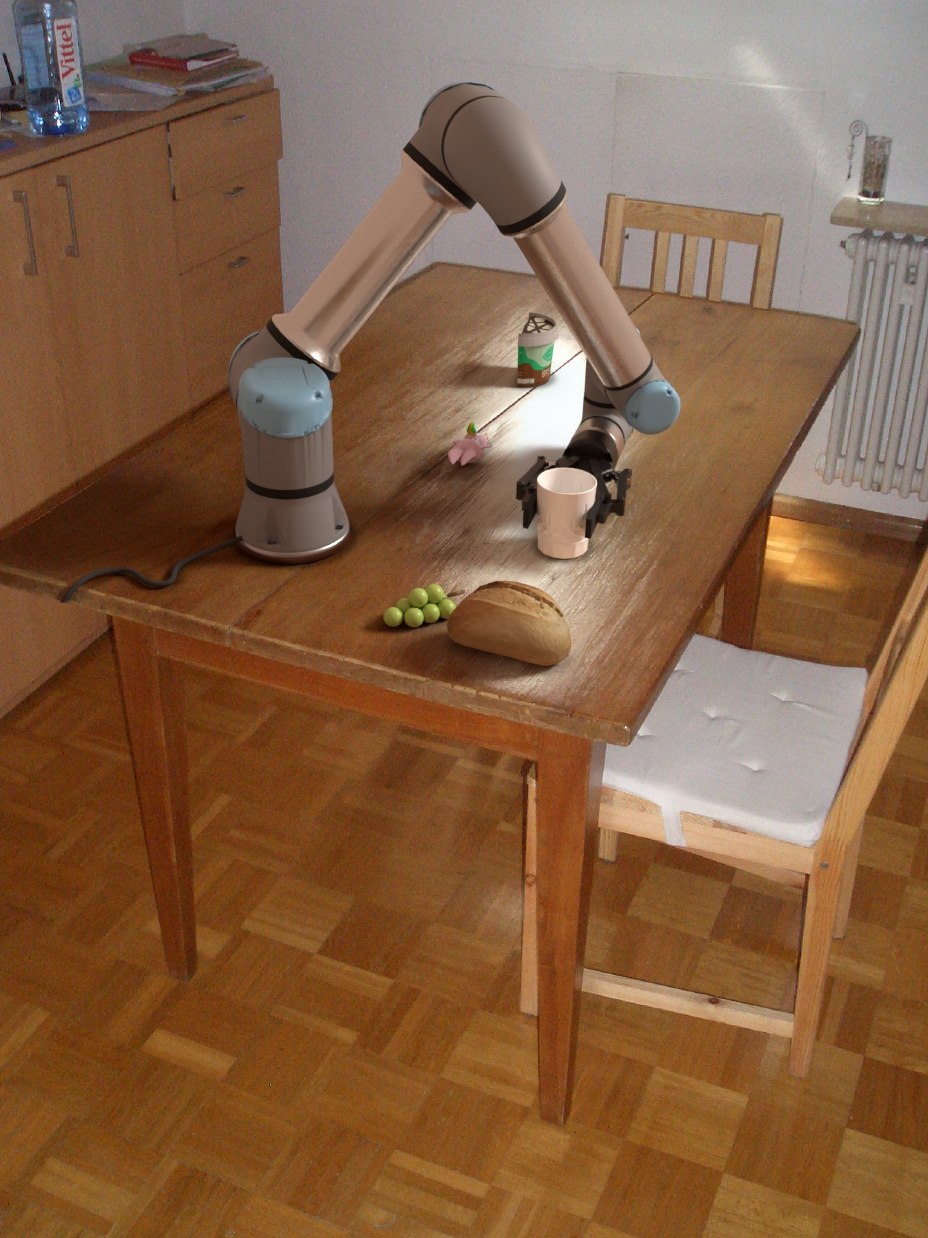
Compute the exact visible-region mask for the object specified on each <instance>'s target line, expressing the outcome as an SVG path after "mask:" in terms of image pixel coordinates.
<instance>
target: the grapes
mask: <svg viewBox="0 0 928 1238" xmlns="http://www.w3.org/2000/svg"><path fill="white" fill-rule="evenodd" d="M464 594H466V590H465V589H459V590H456V591H453V592H448V593H447V594H445V592H444V589H443V588H442V587H441V586H440V585H439V584H437V583H431V584H428V585H427V586H426V587H425V589H424V588H421V587H415V588H413V589H412V590H411V591H410V592H409V593H408V598H407V597H404V598H401V599H399V600H398V601H396V604H395V606H392V607H391V606H390V607H388V608H387V609H385V611H384V613H383V616H382V619H383V621H384V623H385V625H387V626H389V627H390V628H391V627H392V628H395V627H398V626H400V625H401V624H402V622H403V620H404V622H405V624H406V625H407V626H408V627H411V628H417V627H420V626H421V625H422V624H423V622H425V623H427V624H432V623H436V622H437V620H439V618H442V619H445V620H448V619H449V617H450V615H451V613H452V611H453V610H454V609H455V608H456V607H457V606H456V604H455V602H454V601H453V600H451V599H449V598H453V597H457V596H460V595H464Z"/></svg>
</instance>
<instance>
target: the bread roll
mask: <svg viewBox="0 0 928 1238" xmlns="http://www.w3.org/2000/svg"><path fill="white" fill-rule="evenodd" d="M569 627H570V626H569V624H568V621H567V620H566V617H565V615H564V613H563V610H562V609H561V607H560V606H559V604H558V603H557V601H556V600H555V599H554V598H553V596H551V595H550V594H549V593H547V592H546V591H544V590H542V589H540V588H538V587H537V586H533V585H530V584H527V583H523V582H519V581H513V580H495V581H491V582H488V583H485V584H481V585H479V586H478V587H477V588H476V589H475V590H473V592H471V593H469V594H468V595H466V596H465V597H463V599H462V600H461V601H460V602H459V603H458V605H457V606H456V608H455V609H454V610H453V611H452V613H451V615H450V617H449V618H448V619H447V622H446V630H447V634H448V636H449V637H450V639H451V640H453V642H454V643H456V644H459V645H461V646H463V647H467V648H471V649H475V650H479V651H482V652H488V653H491V654H496V655H499V656H504V657H508V658H511V659H515V660H518V661H522V662H525V663H528V664H529V663H530V664H534V665H539V666H548V667H549V666H552V665H557V664H558V663H560V662H562V661H564V660H565V659H566V658H567V657H569V654H570V652H571V649H572V639H571V630H570V628H569Z"/></svg>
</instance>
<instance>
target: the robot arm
mask: <svg viewBox="0 0 928 1238" xmlns="http://www.w3.org/2000/svg"><path fill="white" fill-rule="evenodd" d="M537 130H538V129H537V128H536V127H535V125H534V123H533V121H532V119H530V117H529V116H528V115H527V113H526V112H525V110H523V109H522V108H520V106H518V105H517V104H515V102H512V101H511V100H509V99H508V98H507V97H505V96H504V95H503V94H502V93H501V92H499V91H497V90H496V89H495V88H494V87H492V86H490V85H487V84H486V83H482V82H477V81H473V80H458V81H453V82H451V83H447V84H446V85H444V86H442V87H440V88H439V89H438V90H436V91H435V92H434V93H433V94H432V95H431V96H430V97H429V99H428V100H427V101H426V103H425V104H424V106H423V108H422V111H421V113H420V117H419V122H418V129H417V130H416V132H414V134H413V135H412V137H411V138H410V139H409V141H408V142H407V143H406V145H405V146H404V147H403V148H402V150H401V151H400V153H401V154H400V155H401V170H400V171H399V173H398V174H397V175H396V177H395V178H394V179H393V181H392V182H391V183H390V184H389V186H388V187H387V188H386V190H385V191H384V192H383V193H382V194H381V196H380V197H379V198H378V200H377V201H376V202H375V203H374V204H373V206H372V207H371V209H370V210H369V211H368V213H367V214H366V215H365V216H364V218H363V219H362V220H361V221H360V222H359V224H358V225H357V226H356V228H355V229H354V230H353V231H352V233H351V234H350V235H349V237H348V238H347V239H346V241H345V242H344V243H343V244H342V245H341V247H340V248H339V249H338V251H337V252H336V253H335V255H334V256H333V257H332V258H331V260H330V261H329V262H328V263H327V265H326V266H325V267H324V268H323V270H322V271H321V272H320V274H318V276H317V278H316V279H315V280H314V281H313V283H312V284H311V285H310V286H309V287H308V288H307V290H306V291H305V293H304V294H303V295H302V297H301V298H300V299H299V300H298V301H297V303H296V305H294V307H293V308H292V310H291V311H289V312H283V313H275V314H273V315H272V316H271V317H270V318H269V320H268V321H267V322H266V324H265V325H264V327H262V329H261V330H258V331H255V332H252V333H251V334H249V335H247V336H246V337H244V338H243V339H242V340H241V341H240V342H239V343H238V344H237V346H236V347H235V349H234V350H233V352H232V354H231V356H230V358H229V363H228V371H227V373H228V374H227V385H228V388H229V394H230V397H231V400H232V401H233V404H234V408H235V412H236V416H237V419H238V423H239V427H240V432H241V441H242V451H243V462H244V463H243V465H244V475H245V490H244V494H243V497H242V501H241V504H240V508H239V512H238V516H237V519H236V524H235V537H233V538H231V539H229V540H227V541H224V542H222V543H219V544H217V545H215V546H212V547H210V548H208V549H205V550H202V551H199V552H197V553H194V554H192V555H189V556H187V557H185V558H183V559H182V560H180V561H178V562H177V563H176V564H175V565H174V566H173V568H172V570H171V573H170V577H169V578H168V579H166V580H161V581H155V580H151V579H150V578H148V577H146V576H145V575H143V574H142V573H141V572H140V571H137V570H136V569H134V568H131V567H126V566H124V567H110V568H104V569H99V570H95V571H92V572H89V573H87V574H85V575H83V576H82V577H80V578H79V579H78V580H76V582H75V583H73V584H72V585H71V587H69V589H68V590H67V592H65V594H64V595H63V596H62V598H61V600H60V604H65V603H67V602H69V600H70V599H71V597H72V596H73V595H74V594H75V593H76V592H77V590H79V588H80V587H81V586H83V585H84V584H86V582H88V581H89V580H91V579H94V578H97V577H100V576H105V575H109V574H110V575H112V574H121V573H123V574H129V575H132V576H133V577H135V578H137V579H138V580H139V581H140V582H141V583H143V584H145V585H147V586H149V587H152V588H164V587H168V586H171V585H173V584H174V583H175V582H176V579H177V576H178V573H179V570H180V569H181V568H183V567H184V566H186V565H187V564H190V563H192V562H194V561H196V560H199V559H202V558H205V557H207V556H210V555H212V554H214V553H216V552H220V551H221V550H224V549H226V548H229V547H231V546H234V545H235V544H237V546H238V548H239V549H240V550H241V551H242V552H243V553H244V554H246V555H248V556H250V557H252V558H254V559H256V560H260V561H261V562H262V561H263V562H267V563H273V564H283V565H294V564H295V565H296V564H307V563H311V562H316V561H319V560H323V559H326V558H328V557H331V556H332V555H335V554H336V553H338V552H339V551H342V549H343V548H344V547H345V546H346V545H347V544H348V542H349V540H350V536H351V535H350V532H351V531H350V530H351V529H350V520H349V517H348V514H347V512H346V510H345V507H344V505H343V502H342V499H341V497H340V494H339V492H338V489H337V487H336V485H335V466H334V465H335V464H334V443H333V442H334V440H333V439H334V438H333V416H332V415H333V414H332V412H333V404H334V400H333V393H332V390H331V383H333V381H334V380H335V378H336V377H337V376H338V375H339V374H340V372H341V371H342V367H341V366H342V365H341V353H342V352H343V351H344V349H346V347H347V346H348V345H349V343H350V342H351V341H352V339H353V338H354V337H355V335H356V334H358V332H359V331H360V330H361V328H362V327H363V325H364V324H366V322H367V321H368V320H369V318H371V316H372V315H373V313H374V312H375V311H376V310H377V308H378V307H379V306H380V305H381V304H382V303H383V301H384V300H385V299H386V297H387V296H388V294H390V292H391V291H392V290H393V288H394V287H395V286H396V285H397V284H398V282H400V280H401V278H402V277H403V276H404V275H405V274H406V272H407V271H408V270H409V269H410V267H411V266H412V265H413V264H414V263H415V261H416V260H417V259H418V258H419V256H420V255H421V254H422V252H423V251H424V250H425V249H426V248H427V246H428V245H429V244H430V243H431V241H432V240H433V239H434V238H435V237H436V235H437V234H438V232H439V231H440V230H441V229H442V228H443V226H444V225H445V224H446V223H447V221H448V220H449V219H450V218H451V217H452V216H453V215H455V214H463V213H470V211H472V210H473V208H474V207H475V205H477V203H478V204H479V205H480V206H481V208H482V209H483V210H484V211H485V212H486V214H487V215H488V216H489V217H490V219H491V220H492V221H493V223H494V225H495V226H496V228H497V229H498V231H499V233H500V234H501V236H504V237H510V238H513V240H514V241H515V243H516V245H517V246H518V248H519V250H520V251H521V253H522V255H523V256H524V258H525V260H526V261H527V263H528V265H529V266H530V268H531V270H532V271H533V273H534V274H535V276H536V277H537V279H538V281H539V282H540V284H541V285H542V288H543V290H544V291H545V292H546V294H547V295H548V297H549V299H550V300H551V302H552V304H553V305H554V307H555V308H556V310H557V312H558V313H559V315H560V317H561V318H562V320H563V321H564V323H565V325H566V326H567V327H568V329H569V331H570V333H571V334H572V336H573V338H574V339H575V341H576V343H577V344H578V346H579V347H580V349H581V350H582V352H583V354H584V356H585V357H586V358H585V372H584V391H583V399H582V411H581V412H582V413H581V420H580V423H579V425H578V426H577V428H576V430H575V432H574V433H573V435H572V436H571V438H570V441H569V442H568V444H567V446H566V448H565V449H564V452H562V455H561V457H559V458H557V459H556V460H555V461H549V460H548V459H546V456H544V455H538V456H536V462H535V463H534V464H533V465H532V466H531V467H530V468H529V469H528V470H527V471H526V472H524V474H523V475H522V476H521V477H520V478H519V479H518V480H517V481H516V489H515V499H516V500H517V501H521V512H522V526H521V527H522V529H527V530H528V529H529V528H530V526H531V524H532V522H533V521H534V519H535V517H536V516H537V477H538V476H539V475H540V474H541V473H542V472H544V471H546V470H550V469H554V468H574V469H579V470H583V471H585V472H588V473H590V474H591V475H593V476H594V477H595V478H596V480H597V488H596V495H595V502H594V504H593V506H592V508H591V510H590V512H589V514H588V516H587V519H586V527H585V538H589V539H591V538H592V536H593V534H594V531H595V529H596V527H597V526H598V524H600V525H604V524H606V522H607V520H608V518H609V516H610V515H611V514H614V515H615V516H618V517H622V516H624V515H625V511H626V510H625V509H626V498H627V491H628V490H629V489H630V488H631V487H632V476H633V469H631V468H623V470H618V471H617V470H615V469H616V467H617V464H618V462H619V460H620V458H621V456H622V453H623V451H624V449H625V447H626V445H627V444H628V442H629V439H630V438H631V436H632V434H633V433H634V430H636V431H637V432H639V433H640V434H643V435H646V436H654V435H658V434H662V433H664V432H665V431H667V430H668V429H669V428H671V427H672V426H673V425H674V424H675V422H676V421H677V419H678V417H679V416H680V412H681V398H680V396H679V394H678V392H677V390H675V388H674V386H673V384H672V383H671V382H670V381H667V379H666V378H665V377H664V375H663V374H662V372H661V370H660V368H659V366H658V365H657V363H656V362H655V359H654V358H653V357H652V355H651V352H650V351H649V349H648V347H647V346H646V343H645V342H644V340H643V338H642V337H641V333H640V330H639V329H638V328H637V327H636V326H635V324H634V323H633V320H632V319H631V317H630V316H629V314H628V312H627V310H626V308H625V307H624V305H623V303H622V302H621V300H620V298H619V296H618V294H617V293H616V291H615V289H614V288H613V286H612V284H611V281H609V279H608V277H607V275H606V274H605V272H604V270H603V269H602V267H601V265H600V263H599V260H598V259H597V257H596V256H595V254H594V252H593V250H592V249H591V247H590V245H589V244H588V242H587V240H586V238H585V236H584V234H583V233H582V231H581V229H580V228H579V226H578V225H577V222H576V221H575V219H574V217H573V215H572V214H571V212H570V211H569V208H568V207H567V205H566V201H567V198H568V197H567V196H568V189H567V188H566V186H565V184H564V183H563V181H562V179H561V177H560V175H559V173H558V171H557V169H556V167H555V165H554V163H553V160H552V159H551V157H550V154H549V153H548V150H547V148H546V147H545V145H544V142H543V141H542V139H541V137H540V135H539V132H538V131H537ZM613 481H614V484H615V487H616V498H614V499H613V497H612V496H613V492H610V491H609V489H608V487H607V484H608V483H611V482H613Z"/></svg>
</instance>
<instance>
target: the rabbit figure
mask: <svg viewBox="0 0 928 1238" xmlns="http://www.w3.org/2000/svg"><path fill="white" fill-rule="evenodd" d="M489 441H490V440H489V437H488V431H486V432H485V433H484V434H483V433H479V432H477V429H476V426H475V422H474V421H470V423H469V424H468V426H467V427H466V434H465V435H464V438H462V439H460V440H459V441H458V440H457V439H453V440H452V443H453V444H454V446H452V448H451V449H450V450H449V451H448V453H447V457H448V460H449V462H450V464H451V465H454V464H455V463H456V462H459V463H460V466H465V465H468V464H470V463H473V462H474V463H475V462H476V461H479V460H481V459H483V457H484V456H485V453H484V451H483V450H484V449H490V448H493V444H492V443H489V444H488V442H489Z"/></svg>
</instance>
